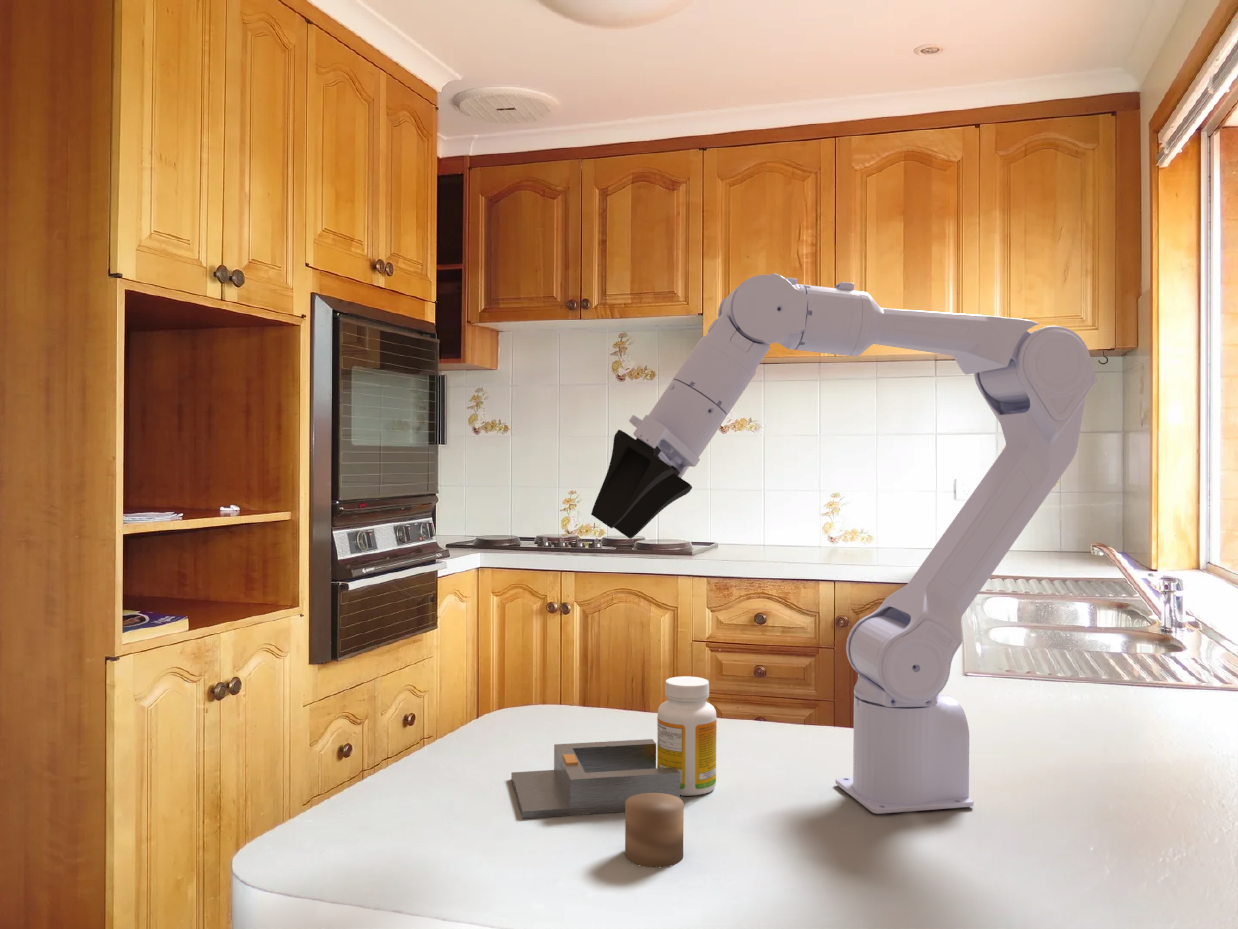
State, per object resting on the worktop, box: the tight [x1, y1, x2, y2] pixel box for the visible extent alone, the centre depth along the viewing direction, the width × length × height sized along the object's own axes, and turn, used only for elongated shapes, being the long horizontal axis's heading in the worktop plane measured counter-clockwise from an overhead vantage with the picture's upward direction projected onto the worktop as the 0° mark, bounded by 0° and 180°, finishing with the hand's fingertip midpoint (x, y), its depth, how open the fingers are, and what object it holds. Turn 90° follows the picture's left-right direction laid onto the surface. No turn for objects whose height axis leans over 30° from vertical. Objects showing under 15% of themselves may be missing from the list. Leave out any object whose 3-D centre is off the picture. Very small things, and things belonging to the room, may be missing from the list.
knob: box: [624, 793, 685, 869], centre depth 72 cm, size 4×4×4 cm
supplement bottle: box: [656, 675, 718, 797], centre depth 87 cm, size 5×5×10 cm
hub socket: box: [511, 738, 681, 819], centre depth 86 cm, size 14×10×3 cm
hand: (611, 527), depth 83 cm, fingers open, 7 cm apart
